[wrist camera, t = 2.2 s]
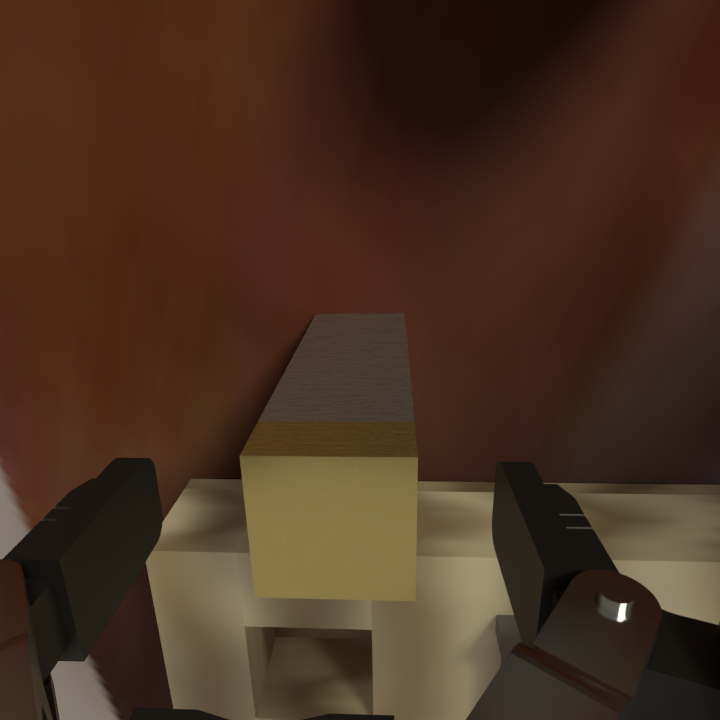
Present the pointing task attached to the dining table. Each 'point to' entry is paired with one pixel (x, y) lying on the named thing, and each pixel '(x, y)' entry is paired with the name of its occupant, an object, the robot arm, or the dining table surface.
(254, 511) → the pin
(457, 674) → the block
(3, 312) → the dining table surface
